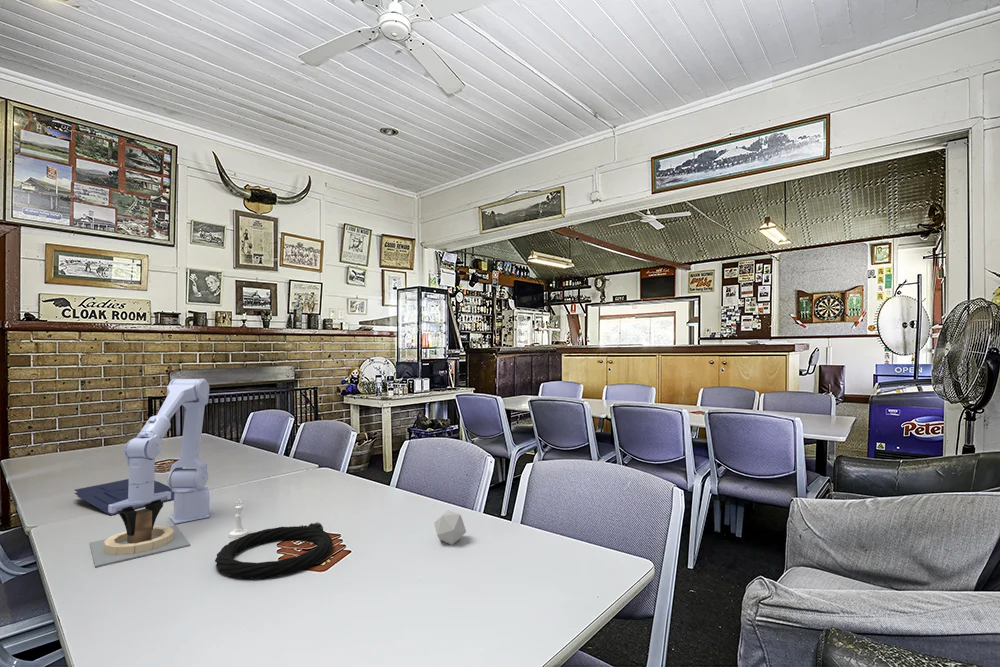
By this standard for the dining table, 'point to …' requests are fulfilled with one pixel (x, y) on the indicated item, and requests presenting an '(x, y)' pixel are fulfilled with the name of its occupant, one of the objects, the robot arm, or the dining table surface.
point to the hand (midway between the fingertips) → (140, 532)
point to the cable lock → (274, 567)
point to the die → (450, 527)
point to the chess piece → (238, 523)
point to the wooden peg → (142, 527)
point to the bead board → (120, 558)
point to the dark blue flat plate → (114, 494)
